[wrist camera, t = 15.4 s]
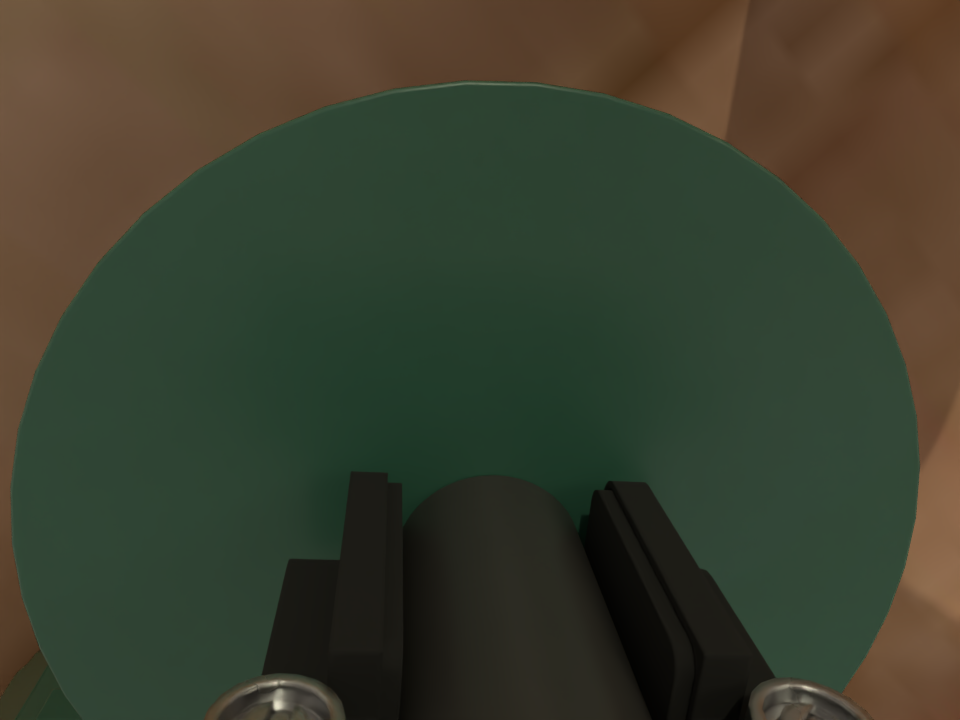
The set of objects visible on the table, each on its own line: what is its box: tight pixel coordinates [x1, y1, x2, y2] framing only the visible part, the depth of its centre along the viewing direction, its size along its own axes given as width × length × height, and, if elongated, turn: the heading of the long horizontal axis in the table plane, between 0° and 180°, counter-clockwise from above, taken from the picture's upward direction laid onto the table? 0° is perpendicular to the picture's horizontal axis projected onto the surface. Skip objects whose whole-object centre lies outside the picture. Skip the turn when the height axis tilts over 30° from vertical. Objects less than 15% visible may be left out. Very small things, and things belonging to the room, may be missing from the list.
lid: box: [11, 81, 920, 720], centre depth 10 cm, size 14×14×7 cm
